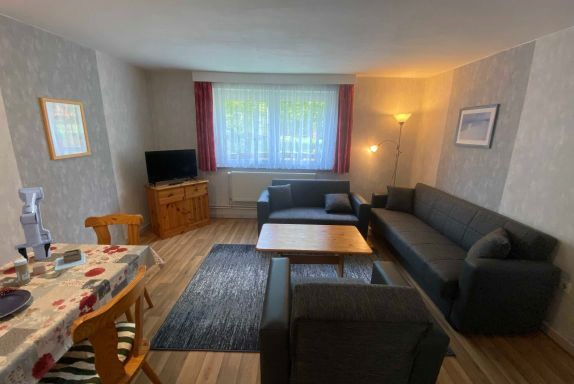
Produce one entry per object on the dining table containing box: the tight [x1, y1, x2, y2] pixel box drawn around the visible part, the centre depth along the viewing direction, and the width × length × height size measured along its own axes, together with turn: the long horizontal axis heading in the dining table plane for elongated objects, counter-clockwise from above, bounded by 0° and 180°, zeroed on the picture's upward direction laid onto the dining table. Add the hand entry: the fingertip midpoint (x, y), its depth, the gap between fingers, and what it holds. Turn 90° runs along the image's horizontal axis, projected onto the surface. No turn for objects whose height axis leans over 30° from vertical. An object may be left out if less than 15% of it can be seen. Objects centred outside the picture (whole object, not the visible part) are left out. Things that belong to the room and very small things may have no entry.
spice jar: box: [13, 258, 31, 287], centre depth 127 cm, size 5×5×13 cm
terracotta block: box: [32, 262, 47, 276], centre depth 138 cm, size 5×5×5 cm
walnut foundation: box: [62, 248, 82, 263], centre depth 153 cm, size 8×8×4 cm
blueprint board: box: [54, 252, 87, 271], centre depth 151 cm, size 17×14×1 cm
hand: (37, 258), depth 136 cm, fingers open, 7 cm apart
